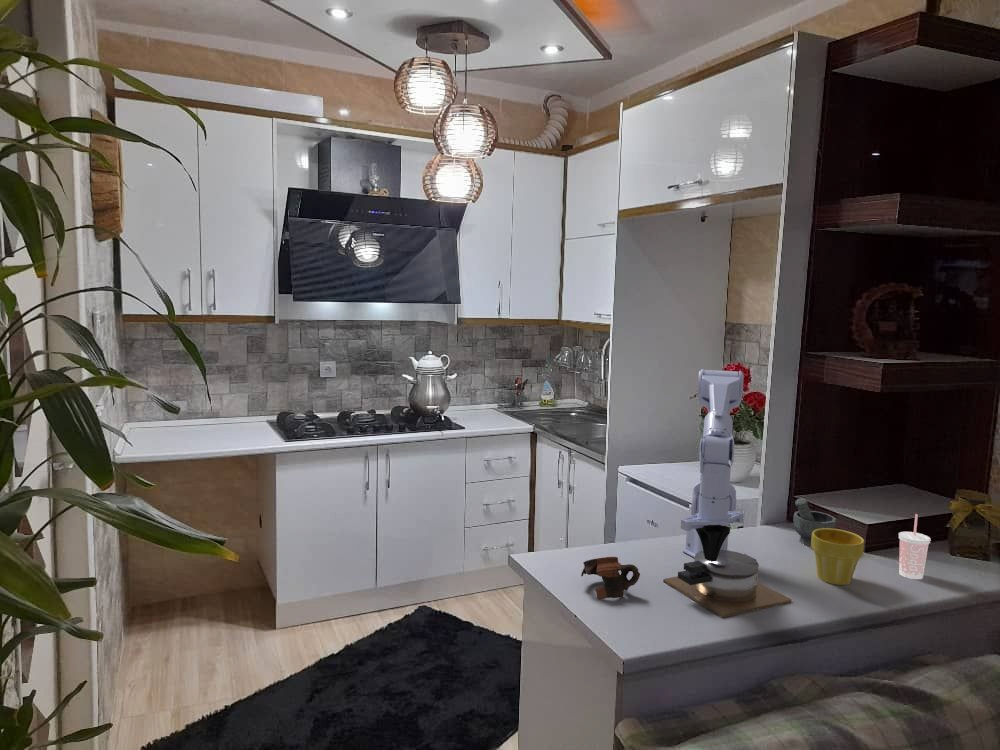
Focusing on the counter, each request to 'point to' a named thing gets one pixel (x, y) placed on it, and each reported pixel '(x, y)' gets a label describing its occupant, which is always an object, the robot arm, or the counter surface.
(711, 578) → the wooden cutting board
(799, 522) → the mortar and pestle
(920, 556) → the beverage cup
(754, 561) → the cooker lid
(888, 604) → the counter surface
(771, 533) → the counter surface
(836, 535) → the plant pot
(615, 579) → the pottery mug
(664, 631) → the counter surface
